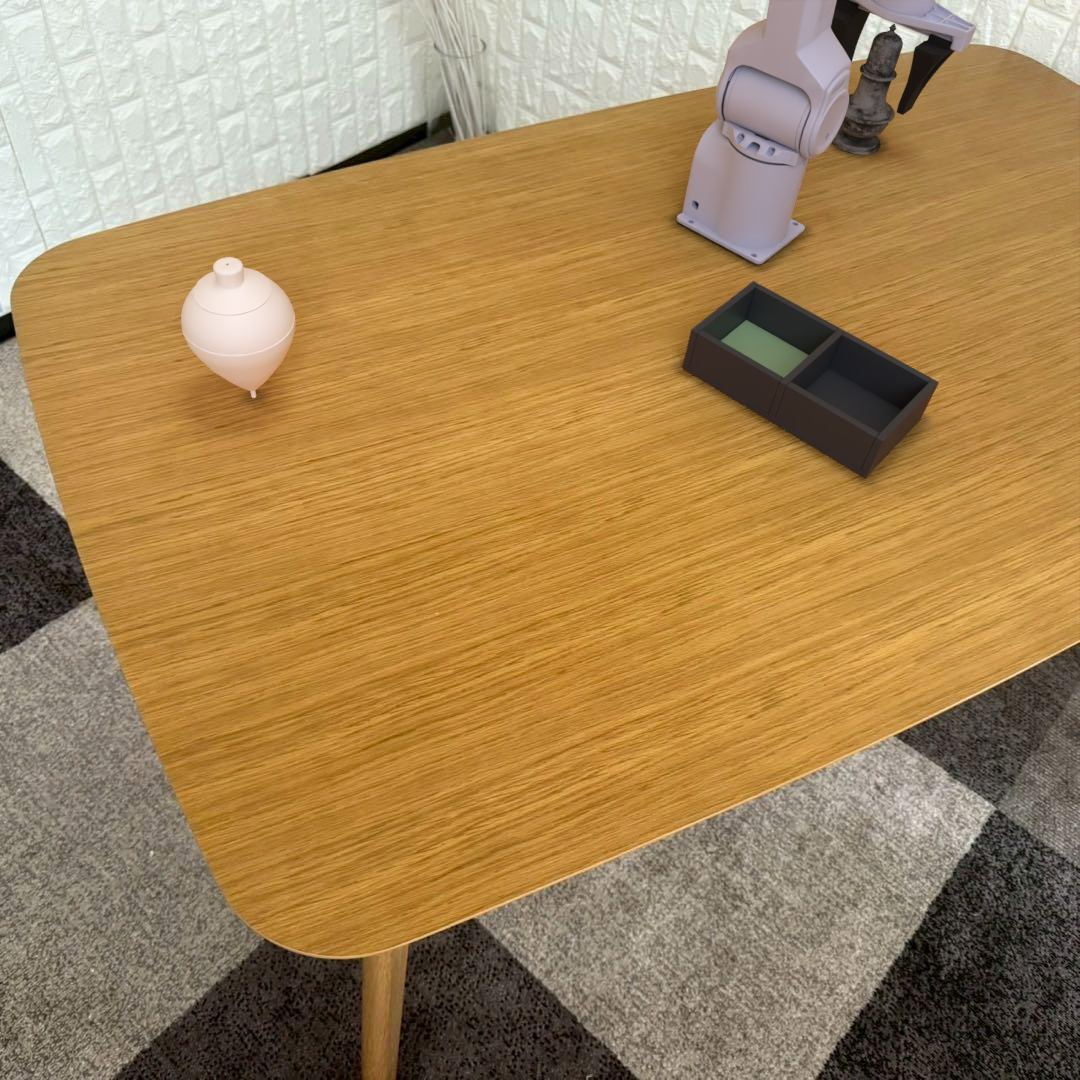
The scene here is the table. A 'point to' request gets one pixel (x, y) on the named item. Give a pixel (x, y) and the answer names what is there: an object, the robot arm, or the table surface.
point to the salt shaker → (871, 97)
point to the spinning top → (238, 323)
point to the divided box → (809, 377)
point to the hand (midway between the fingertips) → (870, 95)
